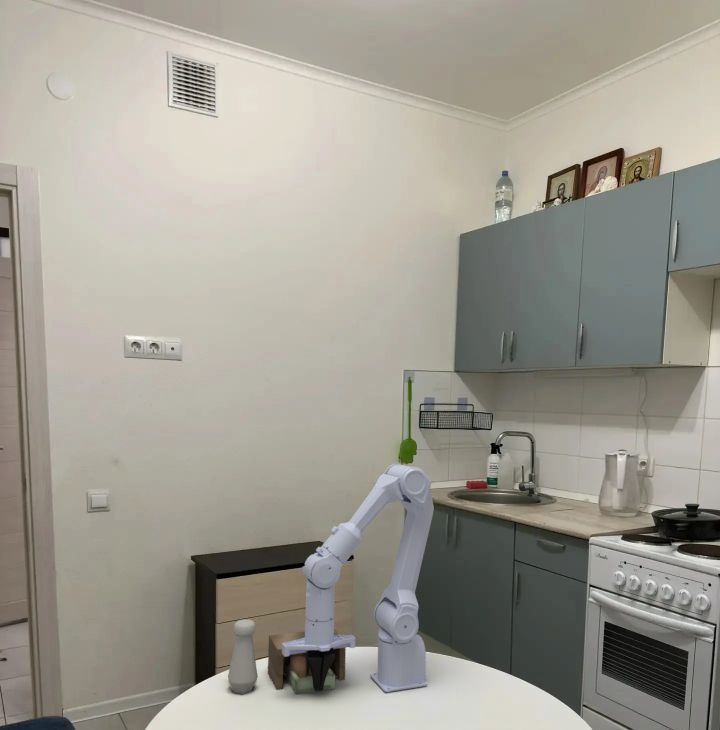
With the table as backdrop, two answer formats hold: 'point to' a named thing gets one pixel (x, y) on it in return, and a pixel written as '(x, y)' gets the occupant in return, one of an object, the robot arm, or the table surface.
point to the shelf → (278, 660)
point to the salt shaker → (243, 658)
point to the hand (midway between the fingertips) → (318, 688)
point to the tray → (307, 681)
